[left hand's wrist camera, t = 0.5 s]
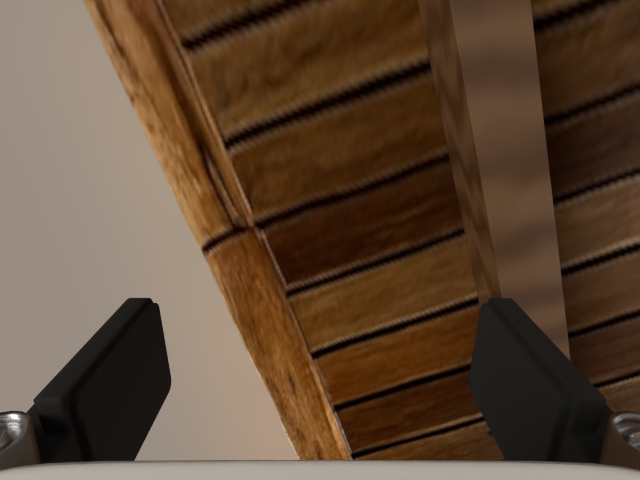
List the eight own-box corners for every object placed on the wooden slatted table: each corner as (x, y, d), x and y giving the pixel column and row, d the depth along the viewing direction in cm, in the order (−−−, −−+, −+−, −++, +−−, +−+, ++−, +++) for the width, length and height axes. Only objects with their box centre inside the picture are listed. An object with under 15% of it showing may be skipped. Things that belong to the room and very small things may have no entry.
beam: (409, -41, 31) (435, -79, 24) (472, -65, 31) (518, -111, 24) (507, 446, 50) (538, 504, 43) (547, 437, 50) (585, 494, 43)
